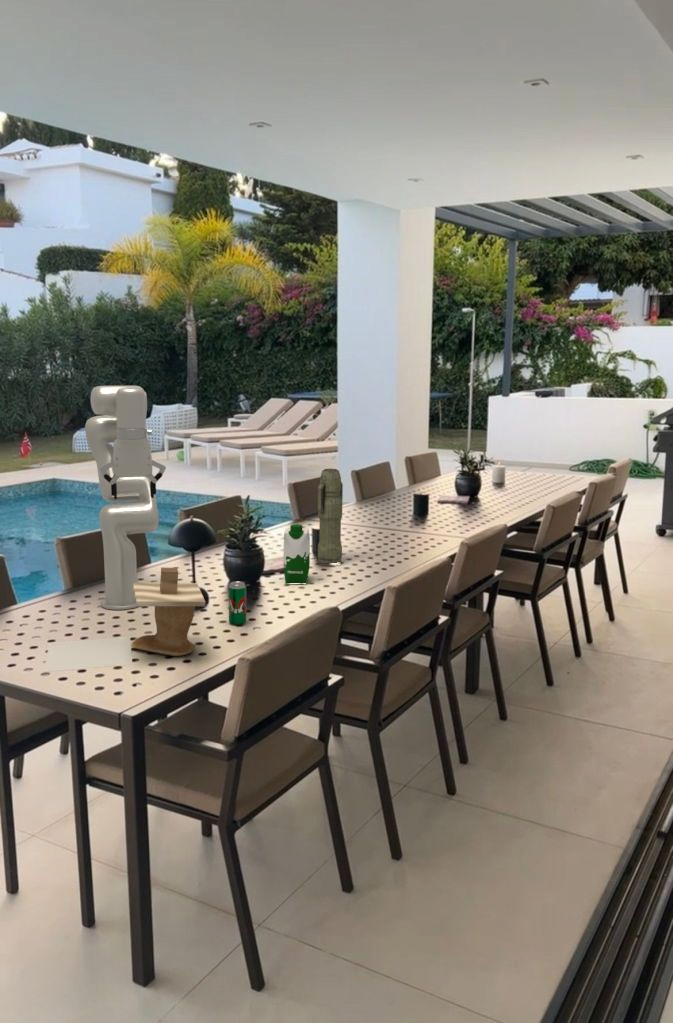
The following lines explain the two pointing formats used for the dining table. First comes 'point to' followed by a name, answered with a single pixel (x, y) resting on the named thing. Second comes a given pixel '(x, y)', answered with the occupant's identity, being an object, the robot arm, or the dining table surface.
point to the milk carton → (296, 554)
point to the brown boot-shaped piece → (169, 631)
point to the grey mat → (88, 654)
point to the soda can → (237, 603)
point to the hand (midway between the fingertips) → (134, 497)
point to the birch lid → (168, 591)
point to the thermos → (330, 516)
